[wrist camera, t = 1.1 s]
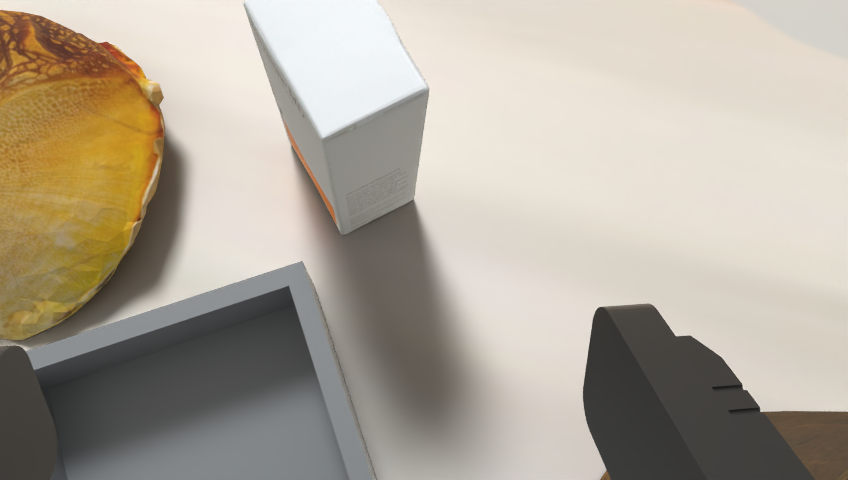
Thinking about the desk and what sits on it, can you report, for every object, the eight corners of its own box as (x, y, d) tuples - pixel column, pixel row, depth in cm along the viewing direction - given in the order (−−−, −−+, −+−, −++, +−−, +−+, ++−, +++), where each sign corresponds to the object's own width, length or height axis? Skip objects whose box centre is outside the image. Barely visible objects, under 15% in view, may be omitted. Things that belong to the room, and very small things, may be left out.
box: (314, 285, 32) (301, 261, 27) (396, 540, 29) (399, 562, 25) (36, 378, 30) (-29, 369, 25) (96, 659, 27) (35, 708, 23)
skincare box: (285, 140, 34) (237, -6, 23) (360, 105, 35) (349, -54, 23) (341, 242, 33) (320, 142, 21) (417, 202, 34) (436, 86, 22)
